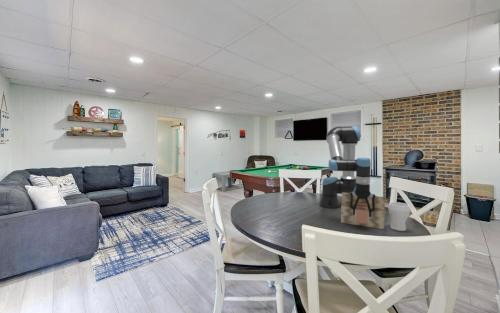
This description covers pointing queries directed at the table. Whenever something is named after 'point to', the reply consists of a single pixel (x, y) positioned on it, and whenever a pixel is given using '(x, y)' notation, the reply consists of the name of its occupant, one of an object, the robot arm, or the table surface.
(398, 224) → the cup
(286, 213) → the table surface
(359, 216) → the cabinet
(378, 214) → the wallboard
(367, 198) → the robot arm
